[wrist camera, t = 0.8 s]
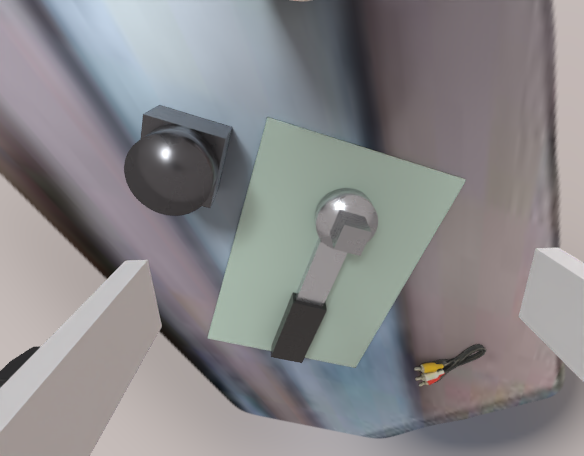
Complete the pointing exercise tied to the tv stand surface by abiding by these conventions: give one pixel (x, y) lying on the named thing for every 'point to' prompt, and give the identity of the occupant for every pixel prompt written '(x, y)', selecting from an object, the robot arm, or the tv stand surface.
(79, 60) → the tv stand surface
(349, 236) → the ratchet
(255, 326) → the tool mat
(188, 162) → the dark grey door knob
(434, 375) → the composite cable
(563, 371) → the tv stand surface
